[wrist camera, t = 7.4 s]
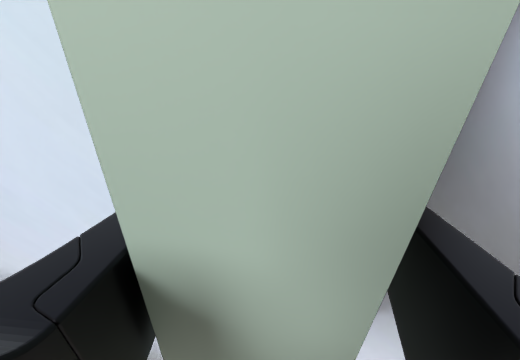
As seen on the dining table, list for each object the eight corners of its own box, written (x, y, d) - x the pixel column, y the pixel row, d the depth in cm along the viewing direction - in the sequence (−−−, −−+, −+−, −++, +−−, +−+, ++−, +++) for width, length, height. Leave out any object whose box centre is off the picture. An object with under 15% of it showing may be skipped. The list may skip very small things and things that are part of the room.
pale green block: (317, 256, 14) (315, 445, 9) (234, 244, 15) (182, 416, 9) (389, -77, 7) (603, -179, 2) (226, -81, 8) (-10, -175, 2)
